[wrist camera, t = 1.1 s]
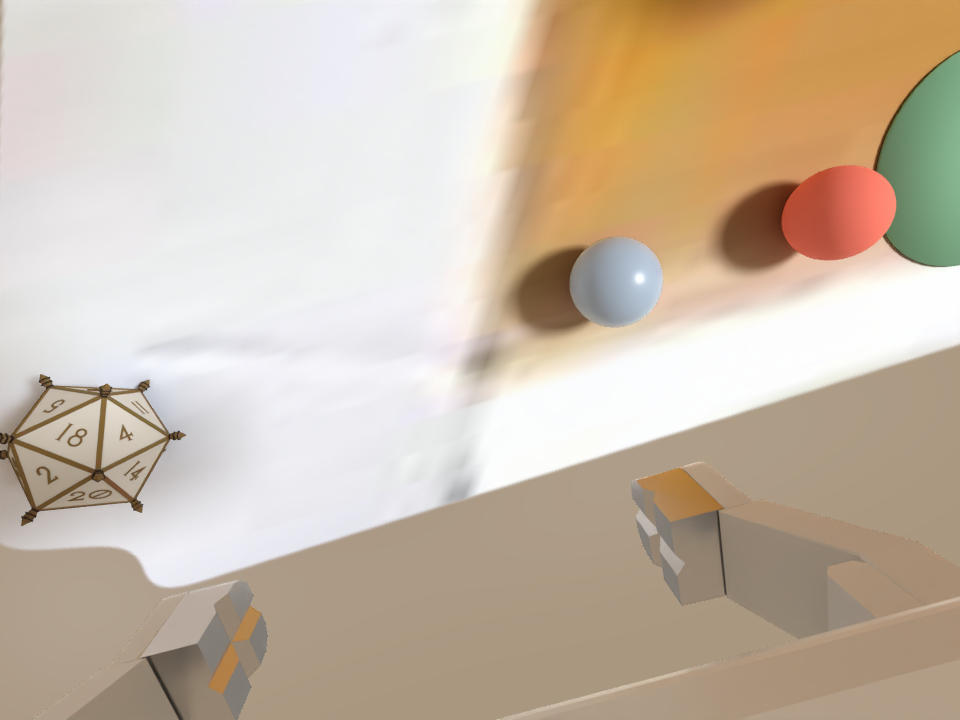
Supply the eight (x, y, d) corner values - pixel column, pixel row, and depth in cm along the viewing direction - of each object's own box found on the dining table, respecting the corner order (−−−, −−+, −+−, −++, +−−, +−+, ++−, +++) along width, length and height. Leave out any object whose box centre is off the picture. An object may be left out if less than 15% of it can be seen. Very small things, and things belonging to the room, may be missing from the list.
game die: (188, 384, 35) (225, 430, 28) (128, 488, 34) (150, 563, 27) (38, 333, 28) (35, 375, 21) (-42, 459, 27) (-72, 547, 20)
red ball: (774, 165, 29) (846, 156, 24) (852, 173, 30) (939, 165, 25) (752, 252, 31) (815, 261, 26) (826, 258, 32) (902, 268, 26)
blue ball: (565, 231, 30) (592, 235, 24) (646, 237, 30) (690, 243, 25) (555, 314, 31) (578, 335, 26) (632, 318, 32) (669, 340, 27)
